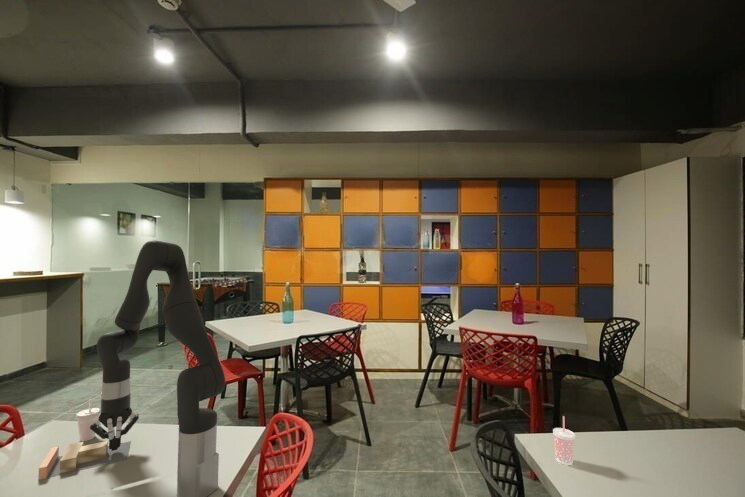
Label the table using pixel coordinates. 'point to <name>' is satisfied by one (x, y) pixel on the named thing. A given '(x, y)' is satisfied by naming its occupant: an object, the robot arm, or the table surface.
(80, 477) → the table surface
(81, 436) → the smoothie
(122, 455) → the mat
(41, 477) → the rail
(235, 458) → the table surface
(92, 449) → the t block
